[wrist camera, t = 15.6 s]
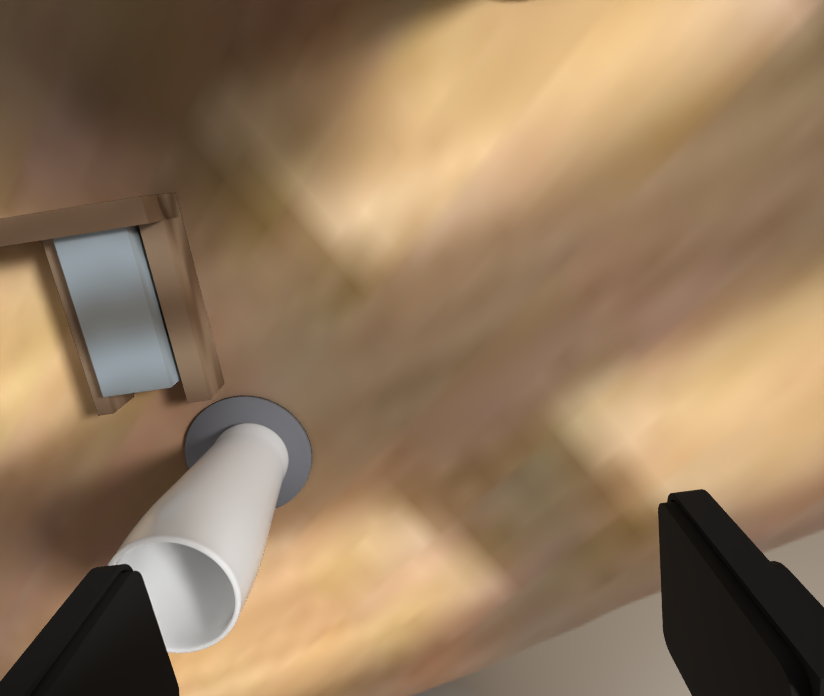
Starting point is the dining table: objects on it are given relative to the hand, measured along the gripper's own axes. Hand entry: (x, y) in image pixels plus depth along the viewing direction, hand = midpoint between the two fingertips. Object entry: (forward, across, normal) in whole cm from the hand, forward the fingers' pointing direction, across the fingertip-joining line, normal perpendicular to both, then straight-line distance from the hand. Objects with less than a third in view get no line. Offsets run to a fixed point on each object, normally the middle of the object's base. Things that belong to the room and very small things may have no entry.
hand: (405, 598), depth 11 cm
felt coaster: (+30, +14, +10) cm, 35 cm away
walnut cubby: (+30, +23, -1) cm, 38 cm away
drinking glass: (+30, +13, +10) cm, 34 cm away
